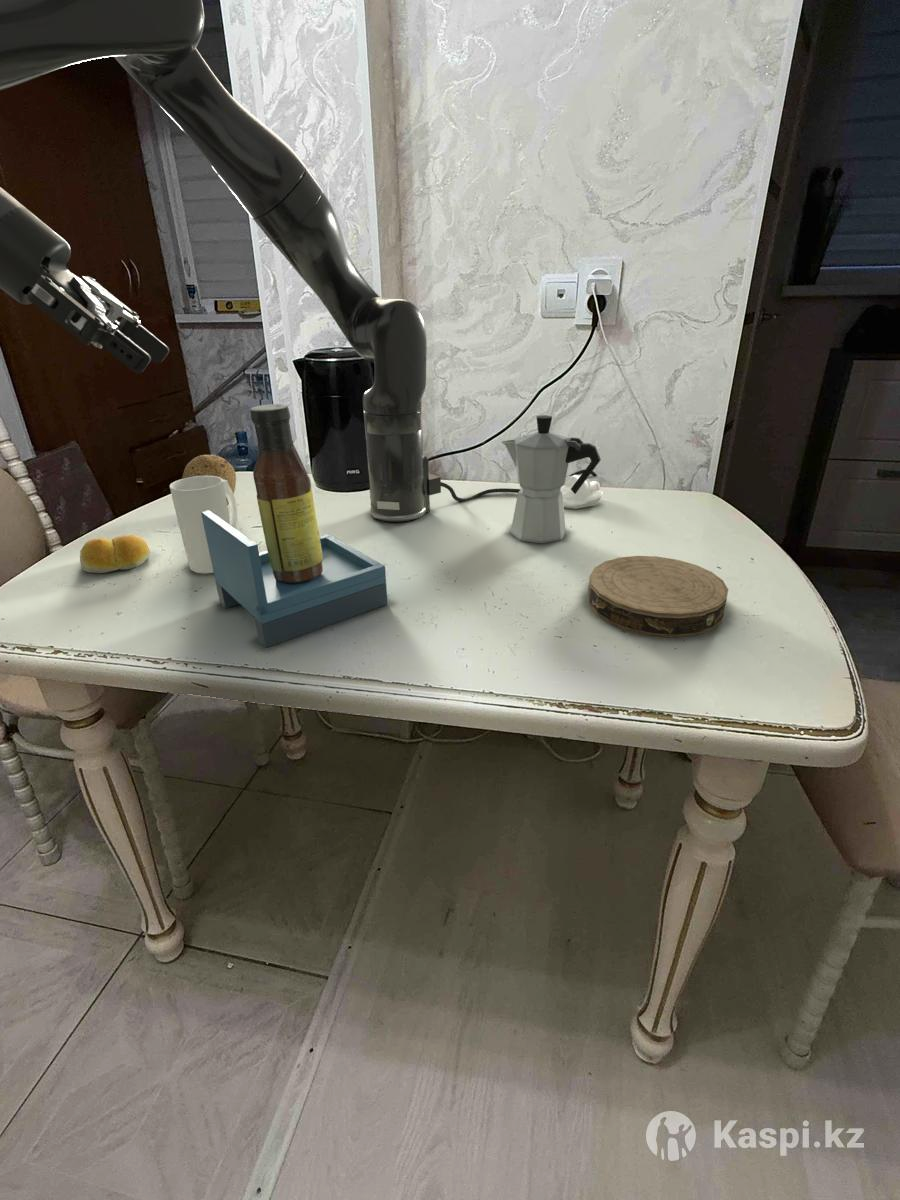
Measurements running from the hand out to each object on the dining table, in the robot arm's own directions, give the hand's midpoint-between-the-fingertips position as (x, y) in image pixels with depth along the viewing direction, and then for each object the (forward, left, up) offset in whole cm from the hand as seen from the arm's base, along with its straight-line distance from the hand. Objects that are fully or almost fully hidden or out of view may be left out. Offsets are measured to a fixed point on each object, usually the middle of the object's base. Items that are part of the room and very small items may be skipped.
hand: (156, 361), depth 66 cm
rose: (-65, +4, -29) cm, 71 cm away
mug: (-6, -11, -29) cm, 31 cm away
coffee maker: (-49, +12, -29) cm, 58 cm away
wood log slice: (-42, +37, -29) cm, 63 cm away
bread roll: (+6, -20, -29) cm, 36 cm away
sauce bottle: (-9, +9, -25) cm, 27 cm away
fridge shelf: (-9, +9, -28) cm, 31 cm away
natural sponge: (-13, -33, -29) cm, 46 cm away
